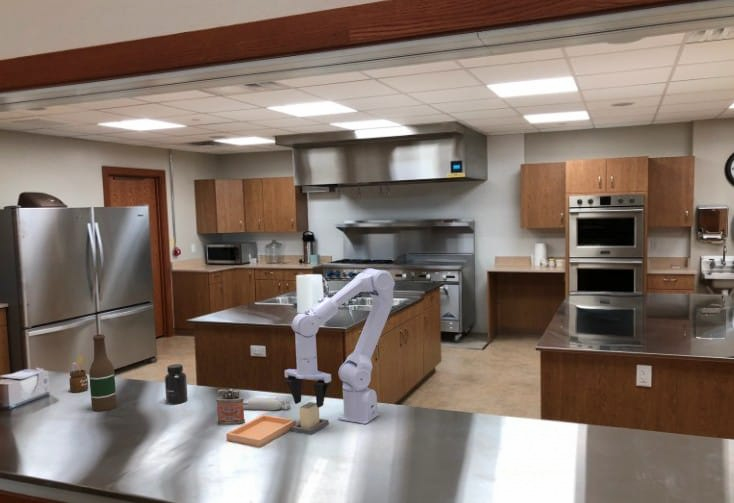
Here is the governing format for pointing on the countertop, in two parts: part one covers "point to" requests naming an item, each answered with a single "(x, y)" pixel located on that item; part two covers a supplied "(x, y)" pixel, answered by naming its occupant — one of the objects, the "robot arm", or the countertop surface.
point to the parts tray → (260, 430)
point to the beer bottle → (102, 378)
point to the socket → (311, 431)
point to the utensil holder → (78, 379)
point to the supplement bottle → (175, 384)
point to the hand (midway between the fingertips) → (308, 404)
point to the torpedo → (265, 404)
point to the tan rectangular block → (309, 415)
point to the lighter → (230, 408)
